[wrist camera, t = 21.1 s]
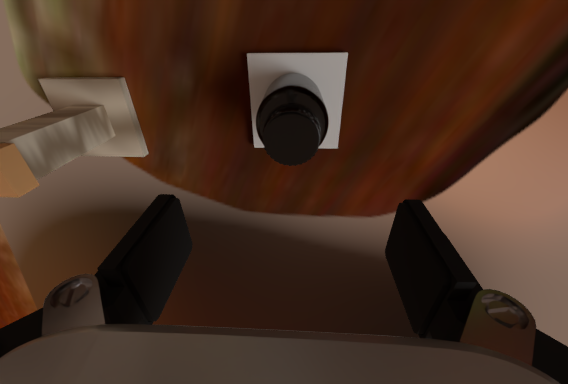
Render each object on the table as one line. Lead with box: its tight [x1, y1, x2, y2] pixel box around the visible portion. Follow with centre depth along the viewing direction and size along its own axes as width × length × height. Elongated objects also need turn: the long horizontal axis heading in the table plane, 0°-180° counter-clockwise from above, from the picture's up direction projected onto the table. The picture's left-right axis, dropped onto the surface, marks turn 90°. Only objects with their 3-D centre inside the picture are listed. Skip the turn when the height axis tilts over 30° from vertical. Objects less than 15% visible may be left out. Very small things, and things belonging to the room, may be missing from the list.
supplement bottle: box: [256, 73, 329, 166], centre depth 25 cm, size 7×7×12 cm
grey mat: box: [247, 52, 348, 148], centre depth 31 cm, size 11×11×1 cm
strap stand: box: [0, 77, 148, 180], centre depth 28 cm, size 10×10×14 cm
